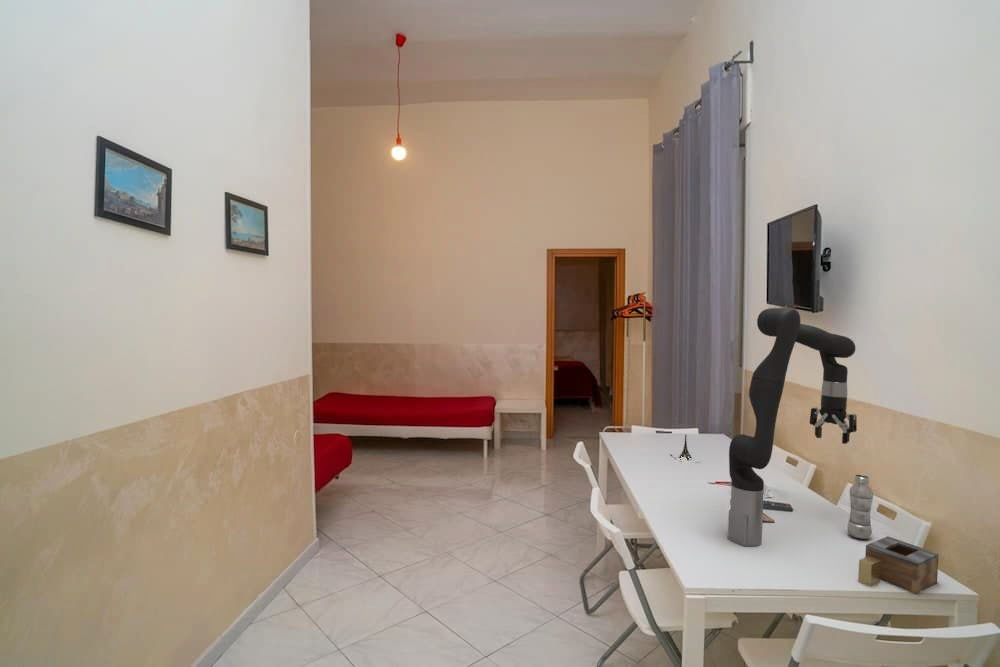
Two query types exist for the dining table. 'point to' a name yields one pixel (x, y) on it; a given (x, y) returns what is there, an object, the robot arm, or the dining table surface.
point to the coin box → (905, 564)
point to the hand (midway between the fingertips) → (831, 440)
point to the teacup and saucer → (766, 489)
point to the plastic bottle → (860, 508)
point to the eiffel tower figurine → (685, 451)
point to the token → (869, 571)
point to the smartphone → (767, 519)
